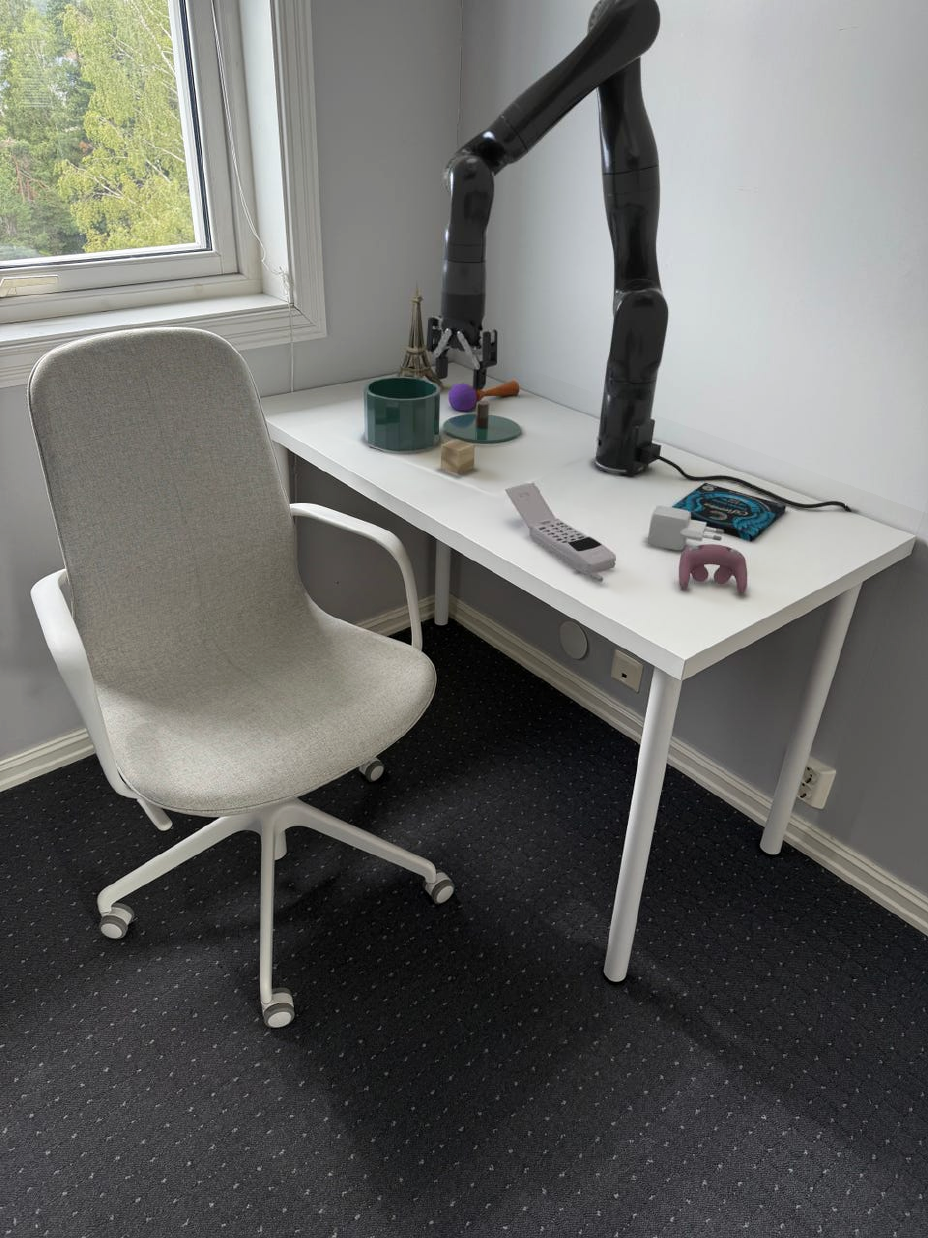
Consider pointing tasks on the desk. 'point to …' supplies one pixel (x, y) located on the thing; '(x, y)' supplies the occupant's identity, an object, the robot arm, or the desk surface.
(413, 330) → the eiffel tower
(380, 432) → the pot
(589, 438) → the desk surface
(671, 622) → the desk surface
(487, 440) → the lid
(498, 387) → the kendama
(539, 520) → the mobile phone
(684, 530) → the power adapter
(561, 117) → the robot arm
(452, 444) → the block
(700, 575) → the video game controller
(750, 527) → the guitar string package
